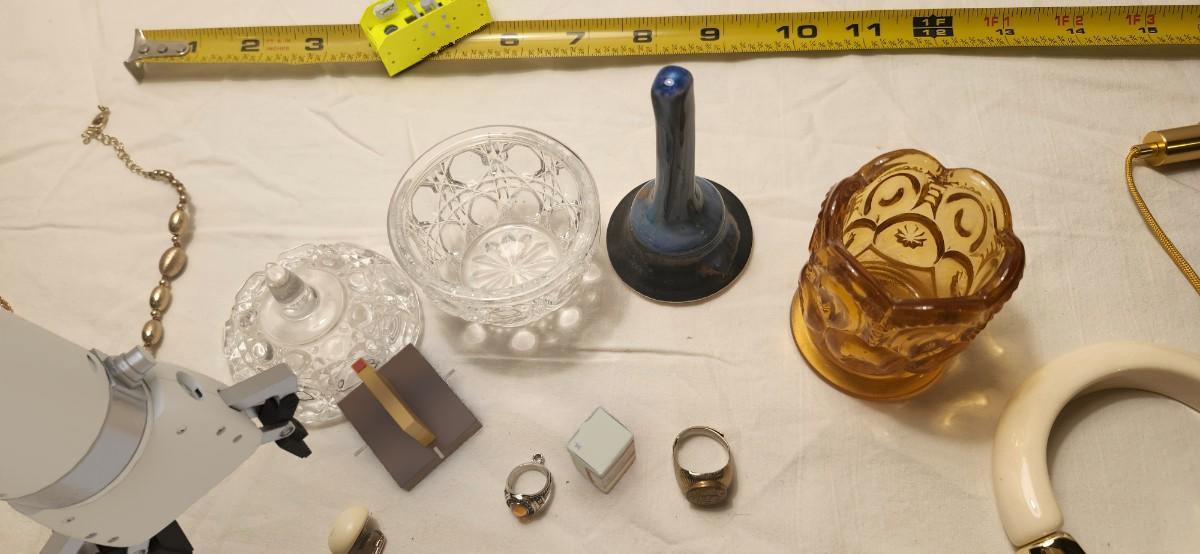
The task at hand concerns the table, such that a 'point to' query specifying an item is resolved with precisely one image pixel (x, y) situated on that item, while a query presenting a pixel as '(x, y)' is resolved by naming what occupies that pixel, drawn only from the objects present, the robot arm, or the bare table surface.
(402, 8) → the yellow toy chassis
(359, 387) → the stand
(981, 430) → the table surface
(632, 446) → the pale grey box
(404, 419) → the yellow angled block
